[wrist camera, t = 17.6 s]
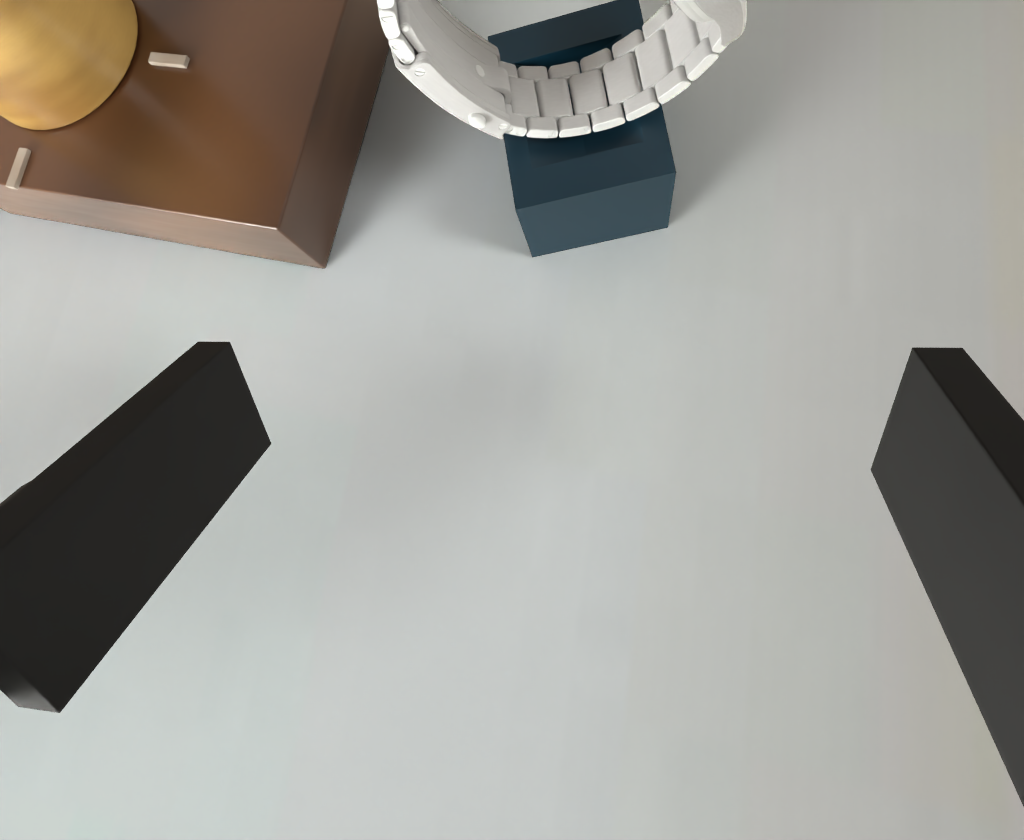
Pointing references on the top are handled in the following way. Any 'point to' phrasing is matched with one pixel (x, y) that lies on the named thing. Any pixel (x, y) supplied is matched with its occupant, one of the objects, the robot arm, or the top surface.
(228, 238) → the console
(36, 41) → the dial
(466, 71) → the watch
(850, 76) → the top surface
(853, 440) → the top surface
